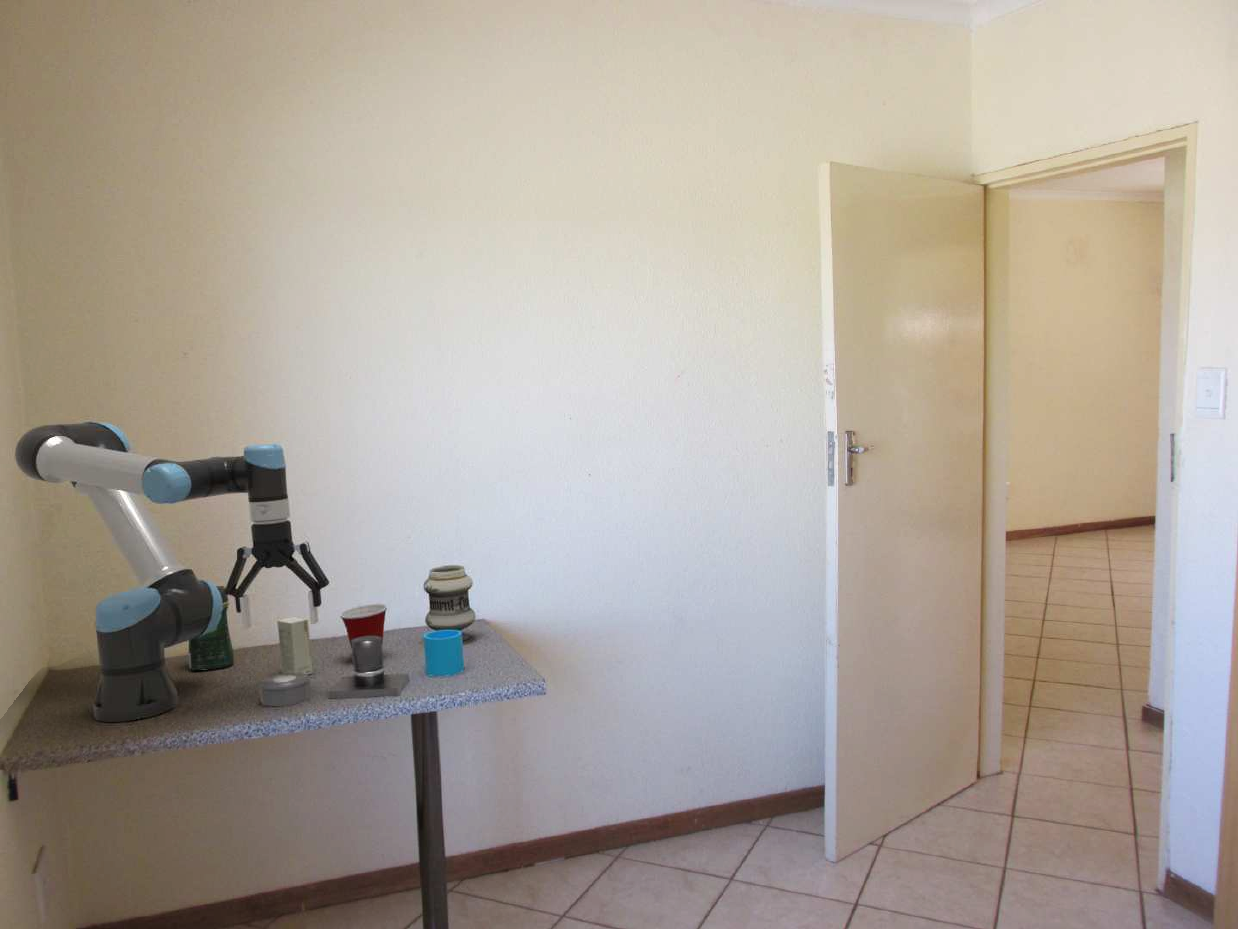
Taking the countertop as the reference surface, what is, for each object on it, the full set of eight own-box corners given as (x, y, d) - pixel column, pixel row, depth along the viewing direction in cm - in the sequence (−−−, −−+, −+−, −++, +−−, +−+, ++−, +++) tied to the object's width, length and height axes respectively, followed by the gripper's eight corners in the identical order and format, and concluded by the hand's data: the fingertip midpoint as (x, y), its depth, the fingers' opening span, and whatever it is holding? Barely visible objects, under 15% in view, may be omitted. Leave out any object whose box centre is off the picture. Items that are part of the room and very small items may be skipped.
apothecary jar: (418, 647, 233) (413, 573, 232) (438, 634, 245) (434, 563, 244) (465, 648, 231) (461, 572, 229) (484, 634, 242) (479, 563, 241)
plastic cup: (338, 658, 227) (334, 607, 226) (384, 651, 231) (381, 601, 231) (347, 669, 217) (344, 616, 216) (396, 661, 222) (392, 609, 221)
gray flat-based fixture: (328, 698, 196) (324, 647, 195) (343, 683, 206) (339, 634, 205) (397, 695, 196) (394, 644, 195) (409, 680, 206) (406, 632, 205)
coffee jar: (235, 659, 230) (229, 582, 229) (233, 668, 223) (226, 588, 221) (190, 665, 227) (184, 586, 226) (187, 674, 220) (180, 592, 218)
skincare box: (313, 673, 215) (309, 619, 214) (295, 678, 212) (291, 623, 211) (299, 669, 219) (294, 615, 218) (280, 674, 216) (276, 619, 215)
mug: (464, 674, 209) (462, 637, 208) (426, 678, 207) (423, 641, 207) (462, 659, 220) (460, 624, 220) (426, 663, 219) (423, 627, 218)
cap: (254, 707, 193) (253, 686, 193) (272, 692, 202) (270, 673, 202) (300, 705, 193) (299, 684, 192) (316, 691, 202) (314, 671, 202)
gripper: (200, 528, 192) (211, 634, 193) (327, 518, 192) (337, 625, 193) (215, 523, 199) (225, 625, 200) (338, 514, 199) (347, 616, 201)
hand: (280, 625), depth 197 cm, fingers open, 13 cm apart
